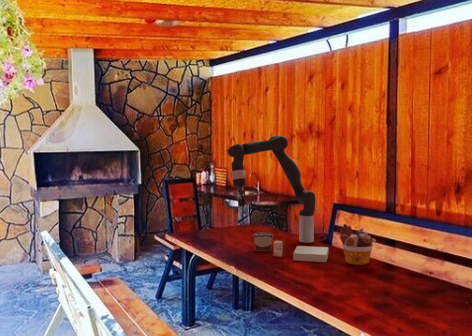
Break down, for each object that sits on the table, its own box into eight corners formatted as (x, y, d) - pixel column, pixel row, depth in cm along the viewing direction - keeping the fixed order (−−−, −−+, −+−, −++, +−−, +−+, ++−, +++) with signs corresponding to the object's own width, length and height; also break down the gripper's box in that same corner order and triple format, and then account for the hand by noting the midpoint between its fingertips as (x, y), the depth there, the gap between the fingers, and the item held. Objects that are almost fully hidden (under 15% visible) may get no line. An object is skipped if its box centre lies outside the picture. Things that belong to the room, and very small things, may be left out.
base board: (297, 252, 283) (297, 245, 283) (328, 254, 278) (328, 247, 278) (293, 260, 265) (293, 253, 265) (326, 262, 261) (326, 254, 261)
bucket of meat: (381, 264, 256) (381, 227, 255) (359, 269, 247) (359, 230, 246) (353, 256, 273) (353, 221, 272) (332, 260, 264) (332, 225, 263)
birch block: (274, 254, 279) (274, 240, 279) (282, 254, 278) (282, 241, 278) (273, 256, 275) (273, 242, 275) (281, 256, 274) (281, 242, 273)
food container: (273, 248, 293) (273, 232, 293) (273, 250, 287) (273, 234, 287) (253, 248, 295) (253, 232, 294) (253, 250, 289) (252, 234, 288)
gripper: (247, 176, 272) (251, 204, 270) (242, 179, 286) (245, 206, 284) (234, 177, 271) (238, 206, 269) (230, 180, 285) (233, 207, 283)
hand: (242, 206), depth 277 cm, fingers open, 8 cm apart
